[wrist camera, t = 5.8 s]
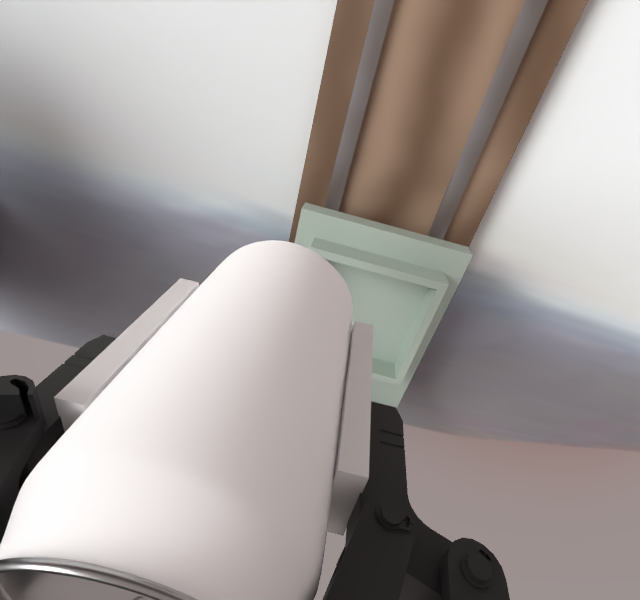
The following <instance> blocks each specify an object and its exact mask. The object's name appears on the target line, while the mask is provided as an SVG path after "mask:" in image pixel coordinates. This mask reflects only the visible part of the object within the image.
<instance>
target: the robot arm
mask: <svg viewBox="0 0 640 600" xmlns="http://www.w3.org/2000/svg"><path fill="white" fill-rule="evenodd" d="M198 287H199V282H195V281H191V280H187V279H182V278H180V279H179V280H178V281H177V282H176V283H175V284H174V285H173V286H172V287H170V288H169V289H168V290H167V291H166V292H165V293H164V294H163V295H162V296H161V297H160V298H159V299H158V300H157V301H156V302H155V303H154V304H152V305H151V306H150V307H149V308H148V309H147V310H146V311H145V312H144V313H143V314H142V315H141V316H140V317H139V318H138V319H137V320H135V321H134V322H133V323H132V324H131V325H130V326H129V327H128V328H127V329H126V330H125V331H124V332H123V333H122V334H121V335H120V336H119V337H117V338H114V337H110V336H106V335H102V336H100V337H98V338H96V339H94V340H92V341H89V342H87V343H86V344H85V345H84V346H83V347H81V348H80V349H79V350H78V351H77V352H76V353H75V355H72V356H71V357H70V358H69V359H68V360H66V361H65V363H64V364H62V365H61V366H60V367H58V368H57V369H56V370H55V371H54V372H52V373H51V374H50V375H49V376H48V377H47V378H45V379H44V380H43V381H42V382H41V383H40V384H39V385H37V386H36V387H35V385H34V382H33V381H32V380H31V379H29V378H27V377H25V376H18V375H9V376H1V377H0V544H1V542H2V539H3V536H4V534H5V531H6V528H7V525H8V522H9V519H10V516H11V513H12V510H13V507H14V504H15V502H16V499H17V497H18V494H19V492H20V490H21V487H22V485H23V483H24V482H25V480H26V479H27V477H28V476H29V474H30V473H31V472H32V471H33V469H34V468H35V467H36V465H37V464H38V463H39V462H40V460H41V459H42V458H43V457H44V456H45V455H46V454H47V452H48V451H49V450H50V449H51V448H52V447H53V446H54V444H55V443H56V442H57V441H58V440H59V439H60V438H61V436H62V435H63V434H64V433H65V432H66V431H67V430H68V429H69V428H70V426H71V425H72V424H73V423H74V422H75V421H76V420H77V419H78V418H79V417H80V415H81V414H82V413H83V412H84V411H85V410H86V409H87V408H88V407H89V406H90V404H91V403H92V402H93V401H94V400H95V399H96V398H97V397H98V396H99V395H100V393H101V392H102V391H103V390H104V389H105V388H106V387H107V386H108V385H109V384H110V383H111V381H112V380H113V379H114V378H115V377H116V376H117V375H118V374H119V373H120V372H121V371H122V369H123V368H124V367H125V366H126V365H127V364H128V363H129V362H130V361H131V360H132V359H133V357H134V356H135V355H136V354H137V353H138V352H139V351H140V350H141V349H142V348H143V347H144V346H145V344H146V343H147V342H148V341H149V340H150V339H151V338H152V337H153V336H154V335H155V334H156V333H157V331H158V330H159V329H160V328H161V327H162V326H163V325H164V324H165V323H166V322H167V321H168V320H169V318H170V317H171V316H172V315H173V314H174V313H175V312H176V311H177V310H178V309H179V308H180V307H181V306H182V304H183V303H184V302H185V301H186V300H187V299H188V298H189V297H190V296H191V295H192V294H193V293H194V291H195V290H196V289H197V288H198ZM372 357H373V325H370V324H366V323H362V322H357V321H355V322H354V325H353V328H352V332H351V339H350V347H349V355H348V364H347V372H346V380H345V389H344V397H343V405H342V413H341V421H340V430H339V438H338V446H337V454H336V462H335V470H334V478H333V490H332V498H331V505H330V513H329V521H328V528H327V531H328V532H332V533H336V534H340V535H344V532H345V530H346V528H347V532H346V545H345V547H344V550H343V552H342V554H341V556H340V558H339V560H338V563H337V564H336V565H337V566H336V568H335V571H334V573H333V576H332V578H331V581H330V583H329V585H328V588H327V590H326V592H325V595H324V597H323V600H510V599H509V593H508V588H507V583H506V578H505V575H504V573H503V569H502V567H501V565H500V564H499V562H498V560H497V559H496V557H495V556H494V554H493V553H492V552H490V551H489V550H488V549H487V548H486V547H485V546H484V545H483V544H481V543H479V542H477V541H475V540H473V539H468V538H461V539H458V540H455V541H454V542H451V541H450V540H448V539H446V538H445V537H443V536H441V535H440V534H438V533H437V532H435V531H433V530H432V529H430V528H429V527H428V526H426V525H425V524H424V523H423V522H422V521H421V520H420V519H419V518H418V517H417V515H416V514H415V512H414V511H413V509H412V507H411V505H410V503H409V500H408V494H407V480H406V466H405V450H404V438H403V421H402V419H401V417H400V415H399V413H398V411H397V409H396V407H392V406H388V405H384V404H381V403H377V402H373V401H371V389H372Z"/></svg>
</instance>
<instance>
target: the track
mask: <svg viewBox="0 0 640 600" xmlns="http://www.w3.org/2000/svg"><path fill="white" fill-rule="evenodd" d="M587 1H588V0H338V1H337V6H336V11H335V16H334V21H333V26H332V31H331V36H330V41H329V46H328V51H327V56H326V61H325V66H324V70H323V75H322V80H321V85H320V90H319V95H318V100H317V105H316V110H315V115H314V120H313V125H312V130H311V135H310V140H309V145H308V150H307V155H306V160H305V165H304V170H303V175H302V180H301V184H300V189H299V194H298V199H297V204H296V209H295V214H294V219H293V224H292V229H291V234H290V239H289V242H291V243H294V242H295V238H296V233H297V228H298V223H299V219H300V214H301V209H302V207H303V205H304V204H305V202H306V203H309V204H313V205H317V206H320V207H324V208H328V209H331V210H335V211H339V212H342V213H346V214H350V215H353V216H357V217H361V218H364V219H368V220H372V221H375V222H379V223H383V224H386V225H390V226H394V227H397V228H401V229H404V230H408V231H412V232H415V233H419V234H423V235H426V236H430V237H434V238H437V239H441V240H445V241H448V242H452V243H456V244H459V245H463V246H467V247H468V246H469V244H470V242H471V240H472V238H473V236H474V234H475V232H476V230H477V228H478V226H479V224H480V222H481V220H482V218H483V216H484V214H485V211H486V209H487V207H488V205H489V203H490V201H491V199H492V197H493V195H494V193H495V191H496V189H497V187H498V185H499V183H500V181H501V179H502V176H503V174H504V172H505V170H506V168H507V166H508V164H509V162H510V160H511V158H512V156H513V154H514V152H515V150H516V148H517V146H518V144H519V141H520V139H521V137H522V135H523V133H524V131H525V129H526V127H527V125H528V123H529V121H530V119H531V117H532V115H533V113H534V111H535V109H536V106H537V104H538V102H539V100H540V98H541V96H542V94H543V92H544V90H545V88H546V86H547V84H548V82H549V80H550V78H551V76H552V74H553V71H554V69H555V67H556V65H557V63H558V61H559V59H560V57H561V55H562V53H563V51H564V49H565V47H566V45H567V43H568V41H569V39H570V36H571V34H572V32H573V30H574V28H575V26H576V24H577V22H578V20H579V18H580V16H581V14H582V12H583V10H584V8H585V6H586V4H587Z"/></svg>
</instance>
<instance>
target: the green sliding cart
mask: <svg viewBox="0 0 640 600" xmlns="http://www.w3.org/2000/svg"><path fill="white" fill-rule="evenodd" d="M294 243H295V244H298V245H301V246H304V247H306V248H308V249H310V250H312V251H314V252H316V253H317V254H319V255H320V256H322V257H323V258H324V259H325V260H327V261H328V262H329V263H330V264H331V265H332V266H333V267H334V268H335V269H336V270H337V271H338V272H339V274H340V275H341V276H342V278H343V279H344V281H345V282H346V284H347V286H348V288H349V290H350V293H351V297H352V304H353V321H352V328H353V325H354V322H355V321H357V322H362V323H366V324H370V325H373V357H372V389H371V401H373V402H377V403H381V404H384V405H388V406H392V407H396V409H397V407H398V405H399V403H400V401H401V399H402V397H403V395H404V393H405V391H406V389H407V387H408V385H409V383H410V381H411V379H412V377H413V375H414V373H415V371H416V369H417V367H418V365H419V363H420V361H421V359H422V357H423V355H424V353H425V351H426V349H427V347H428V345H429V343H430V341H431V339H432V337H433V335H434V333H435V331H436V329H437V327H438V325H439V323H440V321H441V319H442V317H443V315H444V313H445V311H446V309H447V307H448V305H449V303H450V301H451V299H452V297H453V295H454V293H455V291H456V289H457V287H458V285H459V283H460V281H461V279H462V277H463V275H464V273H465V271H466V269H467V267H468V265H469V263H470V261H471V259H472V257H473V254H472V252H471V250H470V249H469V247H467V246H463V245H459V244H456V243H452V242H448V241H445V240H441V239H437V238H434V237H430V236H426V235H423V234H419V233H415V232H412V231H408V230H404V229H401V228H397V227H394V226H390V225H386V224H383V223H379V222H375V221H372V220H368V219H364V218H361V217H357V216H353V215H350V214H346V213H342V212H339V211H335V210H331V209H328V208H324V207H320V206H317V205H313V204H309V203H306V202H305V204H304V205H303V207H302V209H301V214H300V219H299V223H298V228H297V233H296V238H295V242H294ZM351 332H352V331H351Z"/></svg>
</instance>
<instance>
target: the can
mask: <svg viewBox="0 0 640 600" xmlns="http://www.w3.org/2000/svg"><path fill="white" fill-rule="evenodd" d="M352 321H353V304H352V297H351V293H350V290H349V288H348V286H347V284H346V282H345V281H344V279H343V278H342V276H341V275H340V274H339V272H338V271H337V270H336V269H335V268H334V267H333V266H332V265H331V264H330V263H329V262H328V261H327V260H325V259H324V258H323V257H322V256H320V255H319V254H317V253H316V252H314V251H312V250H310V249H308V248H306V247H304V246H301V245H298V244H295V243H291V242H286V241H277V240H269V241H260V242H255V243H251V244H248V245H246V246H244V247H241V248H240V249H238V250H236V251H235V252H233V253H232V254H231V255H229V256H228V257H227V258H226V259H225V260H224V261H223V262H222V263H221V264H220V265H219V266H218V267H217V268H216V269H215V270H214V271H213V272H212V273H211V274H210V275H209V277H208V278H207V279H206V280H205V281H204V282H203V283H202V284H201V285H200V286H199V287H198V288H197V289H196V290H195V291H194V293H193V294H192V295H191V296H190V297H189V298H188V299H187V300H186V301H185V302H184V303H183V304H182V306H181V307H180V308H179V309H178V310H177V311H176V312H175V313H174V314H173V315H172V316H171V317H170V318H169V320H168V321H167V322H166V323H165V324H164V325H163V326H162V327H161V328H160V329H159V330H158V331H157V333H156V334H155V335H154V336H153V337H152V338H151V339H150V340H149V341H148V342H147V343H146V344H145V346H144V347H143V348H142V349H141V350H140V351H139V352H138V353H137V354H136V355H135V356H134V357H133V359H132V360H131V361H130V362H129V363H128V364H127V365H126V366H125V367H124V368H123V369H122V371H121V372H120V373H119V374H118V375H117V376H116V377H115V378H114V379H113V380H112V381H111V383H110V384H109V385H108V386H107V387H106V388H105V389H104V390H103V391H102V392H101V393H100V395H99V396H98V397H97V398H96V399H95V400H94V401H93V402H92V403H91V404H90V406H89V407H88V408H87V409H86V410H85V411H84V412H83V413H82V414H81V415H80V417H79V418H78V419H77V420H76V421H75V422H74V423H73V424H72V425H71V426H70V428H69V429H68V430H67V431H66V432H65V433H64V434H63V435H62V436H61V438H60V439H59V440H58V441H57V442H56V443H55V444H54V446H53V447H52V448H51V449H50V450H49V451H48V452H47V454H46V455H45V456H44V457H43V458H42V459H41V460H40V462H39V463H38V464H37V465H36V467H35V468H34V469H33V471H32V472H31V473H30V474H29V476H28V477H27V479H26V480H25V482H24V483H23V485H22V487H21V490H20V492H19V494H18V497H17V499H16V502H15V504H14V507H13V510H12V513H11V516H10V519H9V522H8V525H7V528H6V531H5V534H4V536H3V539H2V542H1V544H0V600H313V599H314V597H315V595H316V592H317V589H318V585H319V580H320V575H321V570H322V564H323V557H324V550H325V543H326V536H327V528H328V521H329V513H330V505H331V498H332V490H333V478H334V470H335V462H336V454H337V446H338V438H339V430H340V421H341V413H342V405H343V397H344V389H345V380H346V372H347V364H348V355H349V347H350V339H351V331H352Z"/></svg>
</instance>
